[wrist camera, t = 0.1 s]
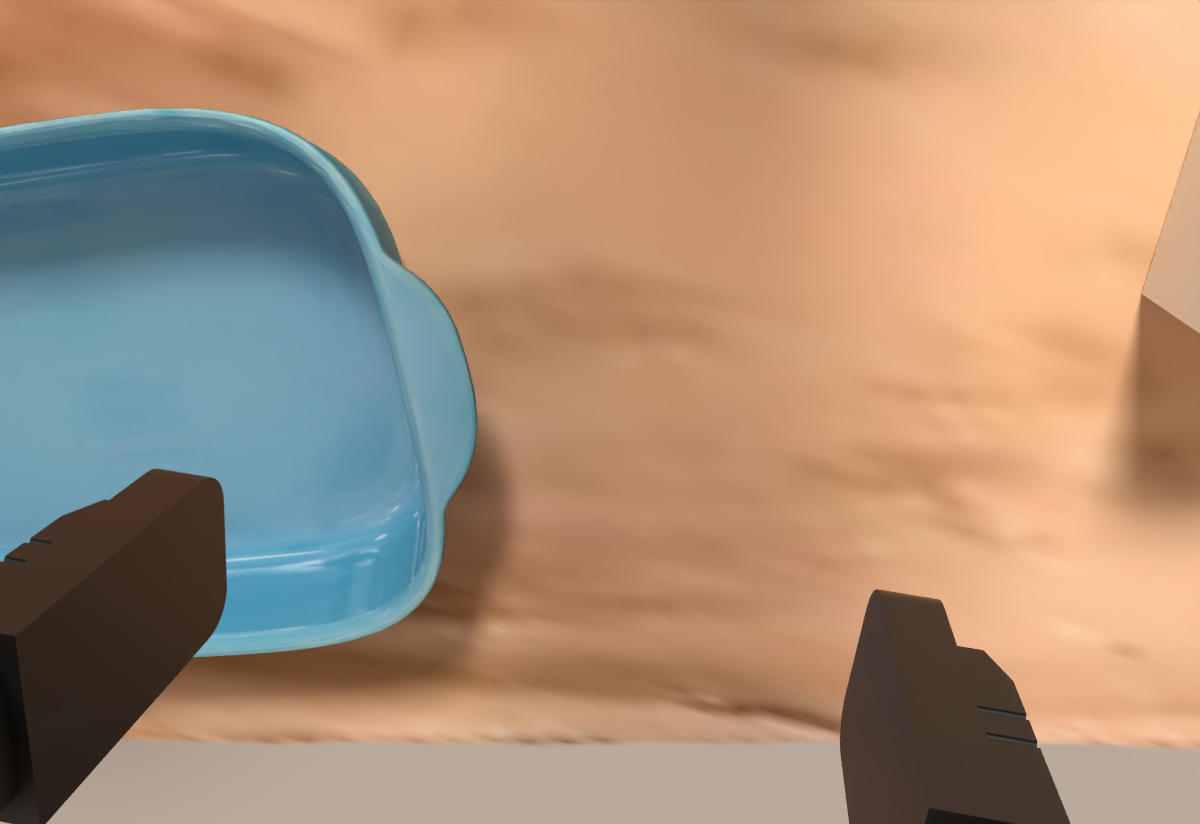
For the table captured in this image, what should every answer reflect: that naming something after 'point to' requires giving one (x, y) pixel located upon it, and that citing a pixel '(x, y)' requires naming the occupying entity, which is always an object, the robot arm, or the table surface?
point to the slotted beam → (1180, 246)
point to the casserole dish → (229, 361)
